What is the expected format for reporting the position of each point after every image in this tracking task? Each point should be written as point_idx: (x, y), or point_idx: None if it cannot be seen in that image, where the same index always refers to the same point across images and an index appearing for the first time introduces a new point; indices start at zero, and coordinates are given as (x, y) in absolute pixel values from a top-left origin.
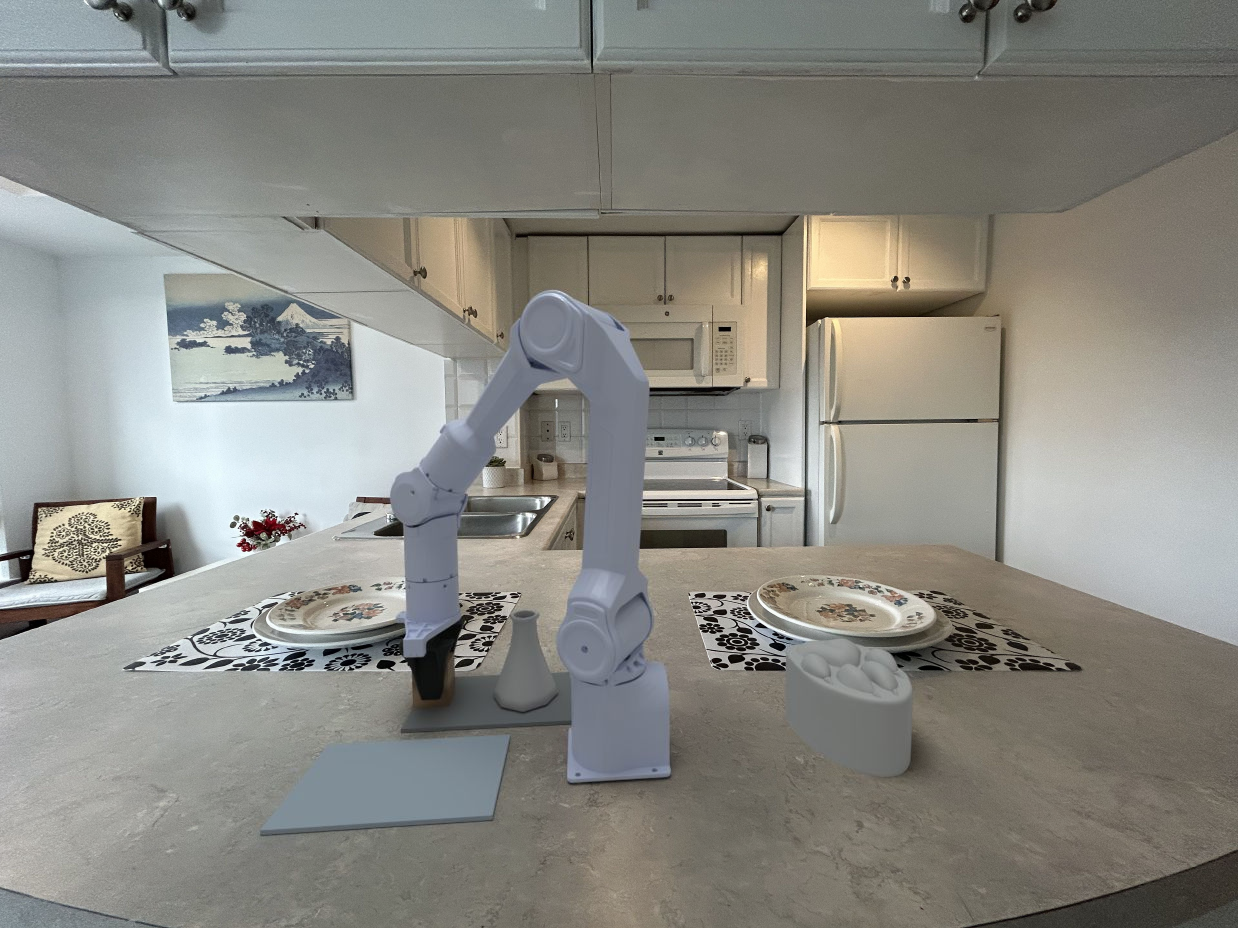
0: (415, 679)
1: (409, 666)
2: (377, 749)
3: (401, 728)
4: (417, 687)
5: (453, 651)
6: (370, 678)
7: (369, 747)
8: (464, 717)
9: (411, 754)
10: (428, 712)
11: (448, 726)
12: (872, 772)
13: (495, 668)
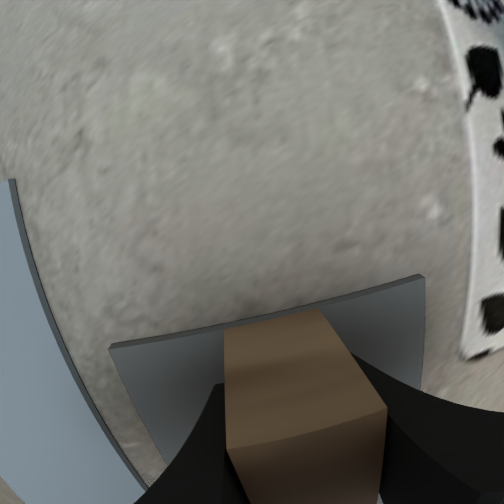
0: (186, 439)
1: (150, 487)
2: (25, 331)
3: (111, 349)
4: (203, 410)
5: (383, 500)
6: (414, 50)
7: (22, 307)
8: None
9: (45, 409)
10: (208, 385)
11: (158, 448)
12: None
13: (455, 401)
